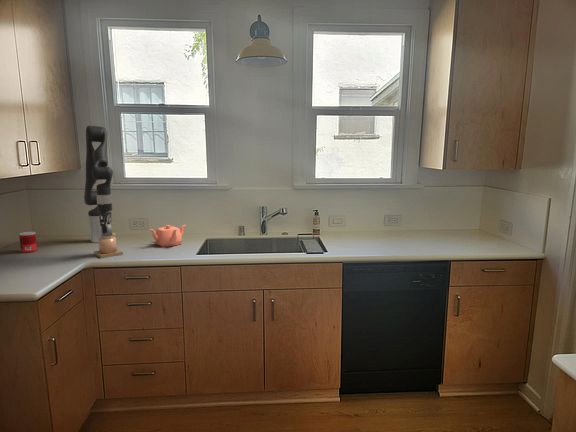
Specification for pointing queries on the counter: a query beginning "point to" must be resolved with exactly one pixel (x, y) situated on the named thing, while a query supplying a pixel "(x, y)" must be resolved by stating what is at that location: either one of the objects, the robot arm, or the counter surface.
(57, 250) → the counter surface
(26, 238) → the canned food
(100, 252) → the canister
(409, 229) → the counter surface
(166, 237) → the pot
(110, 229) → the cap
